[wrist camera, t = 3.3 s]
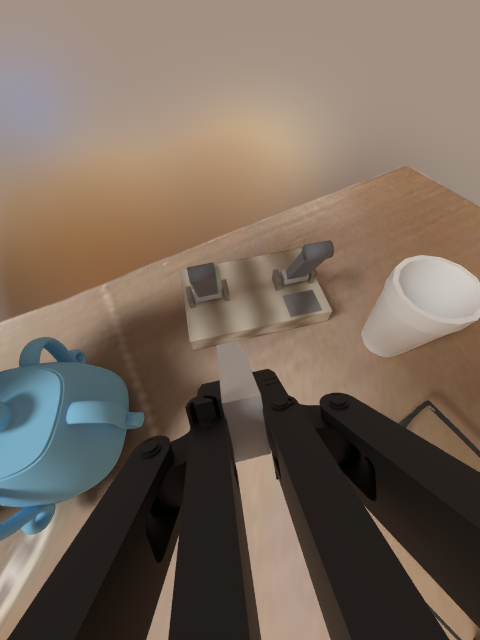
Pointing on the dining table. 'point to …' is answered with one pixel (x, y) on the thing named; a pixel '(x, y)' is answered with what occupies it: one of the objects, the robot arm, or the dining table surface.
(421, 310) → the foam cup
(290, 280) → the lever
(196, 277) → the lever
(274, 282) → the switch base
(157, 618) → the dining table surface
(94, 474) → the decorative pot
